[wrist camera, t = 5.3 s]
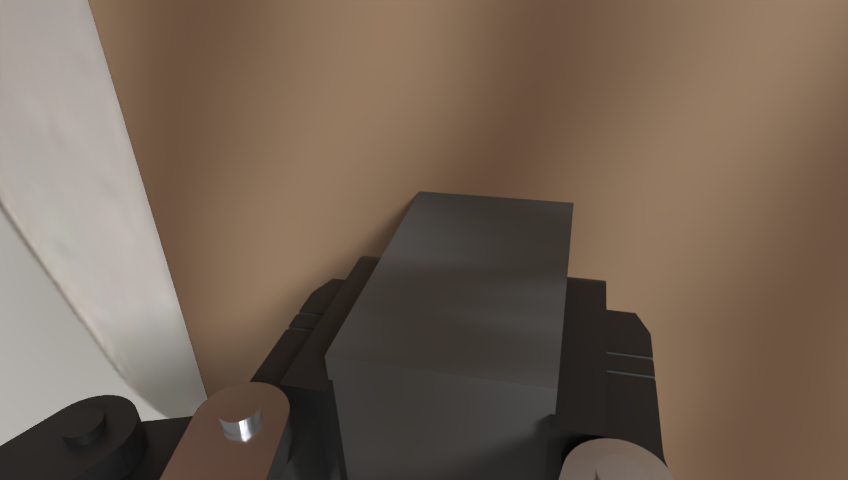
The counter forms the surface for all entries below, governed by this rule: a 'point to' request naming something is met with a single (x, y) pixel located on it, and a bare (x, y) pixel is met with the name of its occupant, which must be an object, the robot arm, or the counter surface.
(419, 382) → the lid
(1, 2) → the counter surface
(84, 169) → the counter surface
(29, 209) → the counter surface
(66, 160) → the counter surface
